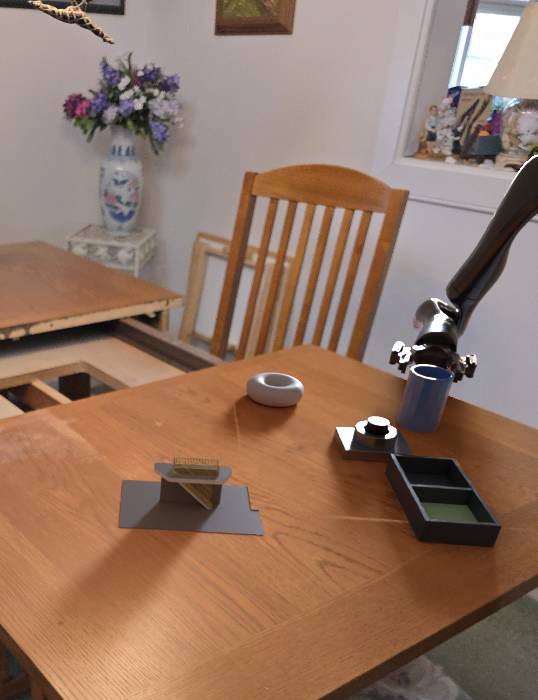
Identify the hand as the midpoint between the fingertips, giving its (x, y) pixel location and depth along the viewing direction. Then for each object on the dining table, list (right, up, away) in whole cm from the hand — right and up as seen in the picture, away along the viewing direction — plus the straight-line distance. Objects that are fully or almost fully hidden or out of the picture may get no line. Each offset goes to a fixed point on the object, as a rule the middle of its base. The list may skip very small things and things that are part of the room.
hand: (430, 372), depth 120 cm
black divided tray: (-10, -24, -25) cm, 36 cm away
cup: (-4, -9, -3) cm, 10 cm away
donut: (-26, -4, +3) cm, 27 cm away
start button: (-14, -12, -14) cm, 23 cm away
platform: (-43, -24, -28) cm, 57 cm away
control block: (-14, -15, -12) cm, 24 cm away
